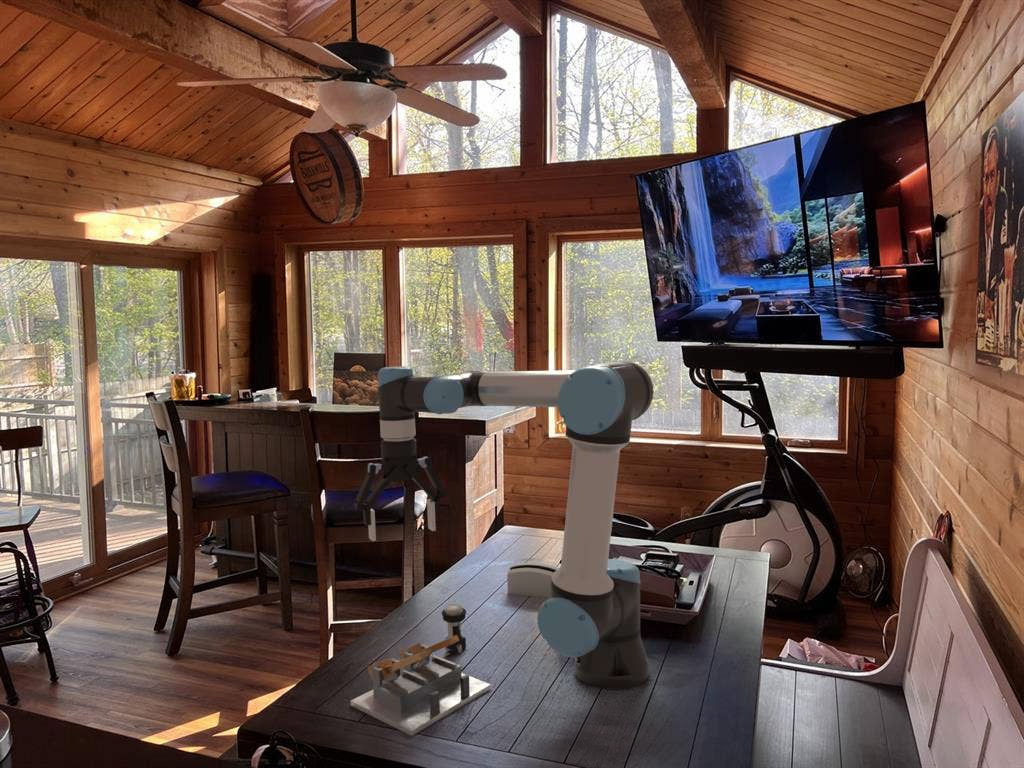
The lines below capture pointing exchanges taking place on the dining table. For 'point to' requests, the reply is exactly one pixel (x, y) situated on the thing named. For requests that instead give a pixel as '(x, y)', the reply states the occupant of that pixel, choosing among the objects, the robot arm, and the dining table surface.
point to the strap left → (396, 664)
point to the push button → (454, 628)
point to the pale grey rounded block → (530, 579)
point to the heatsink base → (421, 710)
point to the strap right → (430, 649)
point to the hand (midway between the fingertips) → (402, 534)
